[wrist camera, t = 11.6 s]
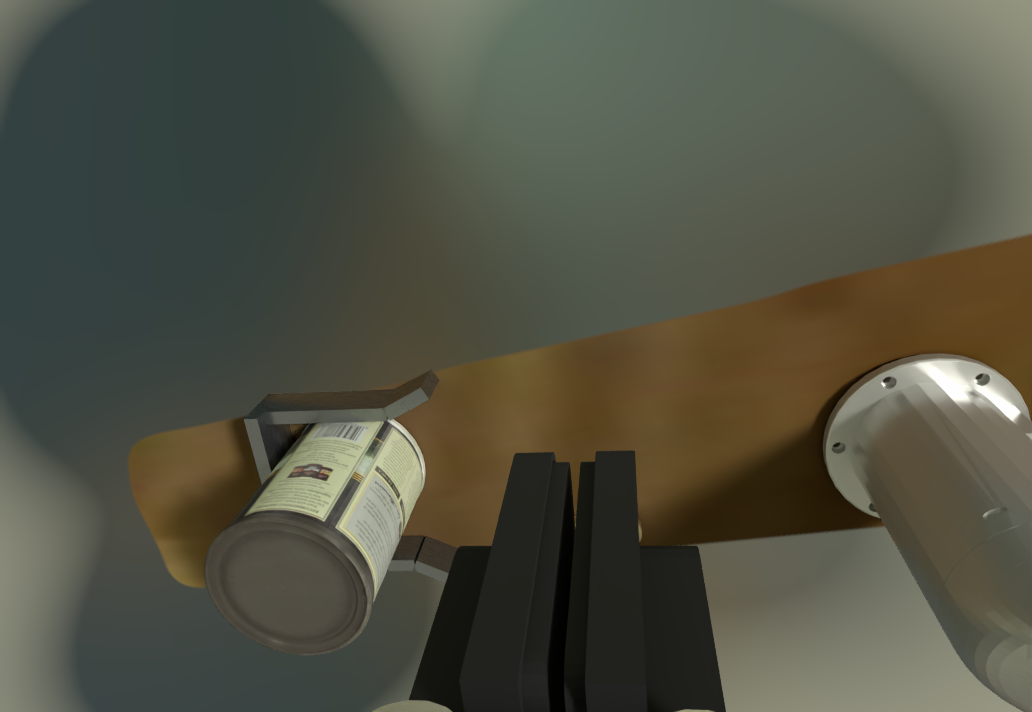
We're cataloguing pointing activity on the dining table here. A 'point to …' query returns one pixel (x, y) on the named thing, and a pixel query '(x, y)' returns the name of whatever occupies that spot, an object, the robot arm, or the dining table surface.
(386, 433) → the coffee can
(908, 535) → the robot arm
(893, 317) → the dining table surface
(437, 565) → the bracket
